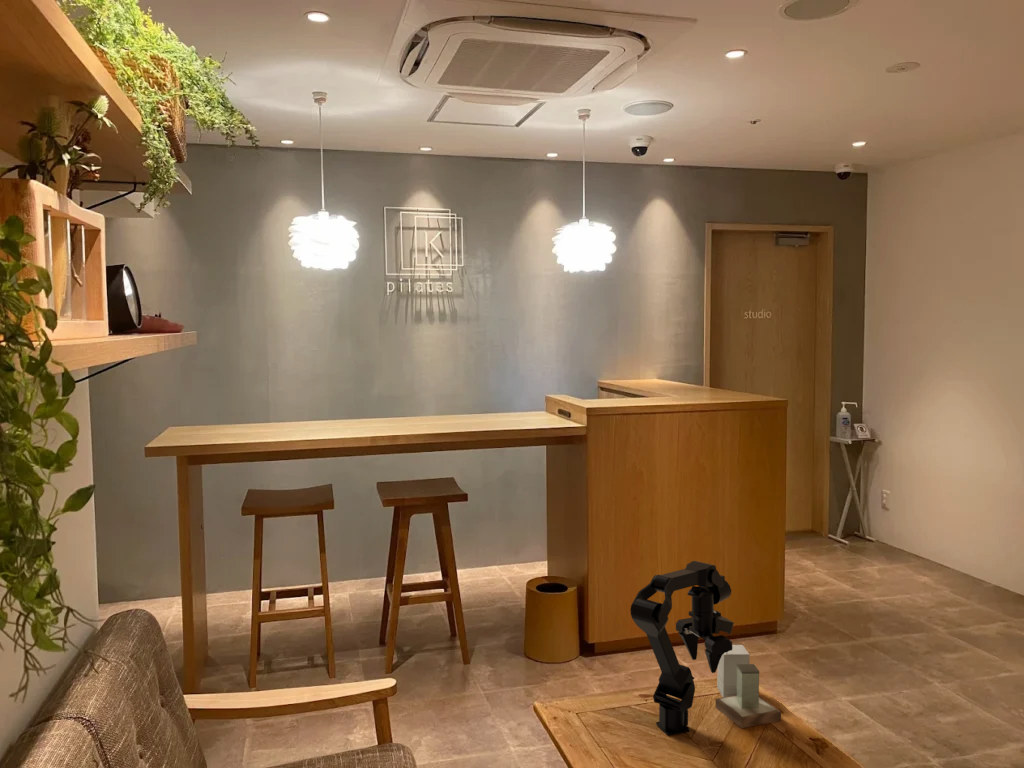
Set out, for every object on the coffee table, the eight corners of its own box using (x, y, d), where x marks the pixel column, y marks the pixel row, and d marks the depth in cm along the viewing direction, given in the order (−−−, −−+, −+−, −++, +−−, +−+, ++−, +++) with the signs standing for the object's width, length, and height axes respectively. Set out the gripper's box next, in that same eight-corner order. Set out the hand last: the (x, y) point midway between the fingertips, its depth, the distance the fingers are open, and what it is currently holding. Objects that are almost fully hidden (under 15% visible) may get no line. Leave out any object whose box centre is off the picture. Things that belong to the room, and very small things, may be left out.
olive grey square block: (741, 708, 216) (741, 671, 215) (736, 700, 220) (736, 664, 220) (758, 708, 216) (759, 671, 215) (753, 700, 221) (754, 664, 220)
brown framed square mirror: (741, 728, 211) (741, 718, 211) (715, 707, 222) (715, 698, 222) (780, 720, 215) (781, 710, 215) (753, 700, 226) (753, 691, 226)
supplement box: (749, 699, 227) (750, 654, 226) (722, 699, 227) (723, 654, 226) (742, 687, 235) (743, 644, 234) (716, 687, 235) (717, 644, 234)
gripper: (749, 615, 213) (750, 674, 214) (708, 594, 231) (709, 648, 232) (712, 622, 209) (713, 681, 210) (674, 600, 227) (675, 655, 228)
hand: (703, 666), depth 220 cm, fingers open, 9 cm apart
